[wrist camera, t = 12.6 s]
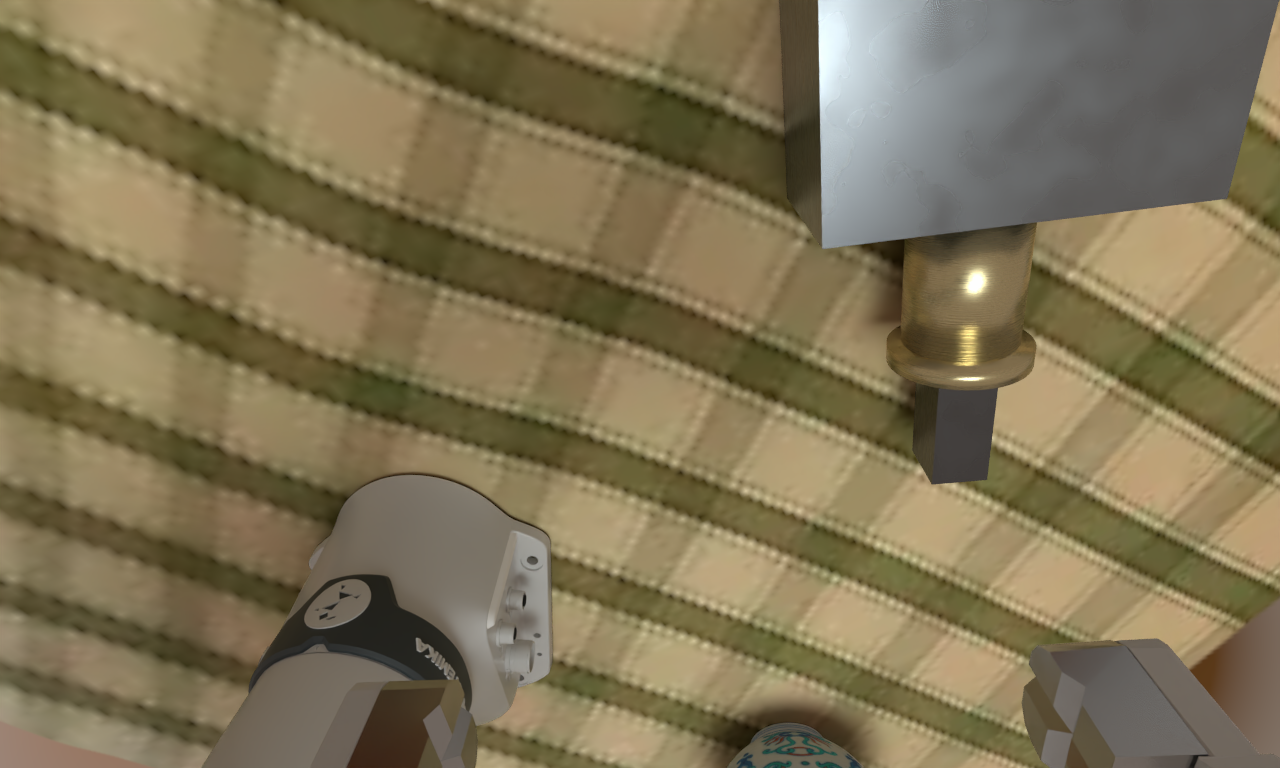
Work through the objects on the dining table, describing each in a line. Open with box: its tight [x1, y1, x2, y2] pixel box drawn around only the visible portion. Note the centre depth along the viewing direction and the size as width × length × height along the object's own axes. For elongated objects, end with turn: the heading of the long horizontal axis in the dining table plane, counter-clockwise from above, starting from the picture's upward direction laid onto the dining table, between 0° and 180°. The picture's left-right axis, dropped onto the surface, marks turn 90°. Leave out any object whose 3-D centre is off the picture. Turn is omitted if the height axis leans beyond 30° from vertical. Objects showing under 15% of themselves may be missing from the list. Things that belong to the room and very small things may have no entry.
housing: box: [779, 0, 1279, 249], centre depth 30 cm, size 10×16×10 cm, turn 98°
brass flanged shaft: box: [886, 222, 1037, 484], centre depth 35 cm, size 15×7×7 cm, turn 8°
